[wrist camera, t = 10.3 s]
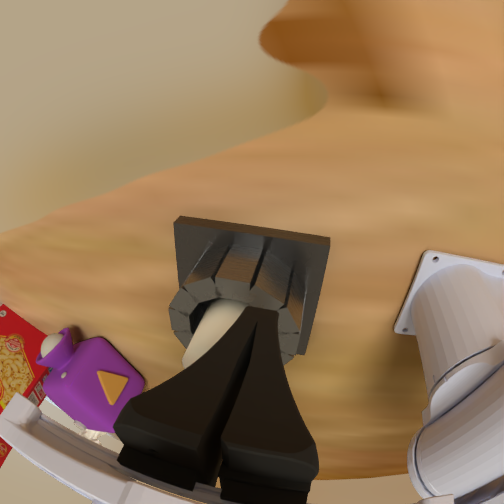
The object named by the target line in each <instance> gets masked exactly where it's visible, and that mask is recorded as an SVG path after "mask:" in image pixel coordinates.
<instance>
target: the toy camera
mask: <svg viewBox="0 0 504 504" xmlns="http://www.w3.org/2000/svg"><path fill="white" fill-rule="evenodd" d="M36 363H37V364H39V365H42V366H46V367H52V368H53V369H52V371H51V372H50V374H49V375H48V377H47V378H46V380H45V381H44V384H43V390H44V392H45V394H46V395H47V396H48V397H49V398H50V399H51V400H52V401H53V402H54V403H55V404H56V405H57V406H58V407H59V408H61V409H62V410H63V411H64V412H65V413H67V414H68V415H69V416H70V417H71V418H72V419H74V420H75V422H74V424H75V425H76V426H77V427H78V428H80V429H81V430H83V431H85V430H86V429H89V430H94V431H100V432H108V433H115V431H114V429H113V425H114V423H115V421H116V419H117V417H118V415H119V414H120V412H121V410H122V409H123V407H124V406H125V405H126V403H127V402H128V401H129V399H130V398H132V397H135V396H137V395H139V394H141V392H142V390H143V388H144V384H145V382H144V379H143V378H142V376H141V375H140V374H139V373H138V372H137V371H136V370H135V369H134V368H133V367H132V366H131V365H130V364H129V363H128V362H127V361H126V360H125V359H124V358H123V357H122V356H121V355H120V354H119V353H118V352H117V351H116V350H115V349H114V348H113V347H112V346H111V345H110V344H109V343H108V342H107V341H106V340H105V339H103V338H101V337H95V338H91V339H88V340H85V341H82V342H79V343H77V344H74V345H73V344H72V338H71V333H70V330H69V328H65V329H63V330H61V331H60V332H59V333H54V334H50V335H49V336H47V337H46V338H45V339H44V341H43V343H42V345H41V351H40V353H39V355H38V356H37V358H36Z"/></svg>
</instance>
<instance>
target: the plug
mask: <svg viewBox="0 0 504 504" xmlns="http://www.w3.org/2000/svg"><path fill="white" fill-rule="evenodd" d="M247 306H250V305H249V304H247V303H246V302H242V301H236V300H231V299H226V298H221V297H218V298H215V299H211V301H210V303H209V305H208V307H207V309H206V311H205V313H204V315H203V317H202V319H201V321H200V323H199V325H198V327H197V330H196V332H195V334H194V336H193V338H192V340H191V342H190V344H189V346H188V348H187V350H186V352H185V354H184V356H183V359H182V363H183V367H184V369H186V368H187V367H188V366H190V365H191V364H193V363H194V362H195V361H196V360H198V359H199V358H200V357H201V356H202V355H203V354H205V353H206V352H207V351H208V350H209V349H210V348H211V347H212V346H213V345H214V344H215V343H216V342H217V341H218V340H219V339H220V338H221V337H222V336H223V335H224V334H225V333H226V332H227V331H228V329H229V328H230V327H231V326H232V325H233V324H234V322H235V321H236V320H237V319H238V317H239V316H240V315H241V313H242V312H243V310H244V309H245V307H247Z"/></svg>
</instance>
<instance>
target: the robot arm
mask: <svg viewBox="0 0 504 504" xmlns="http://www.w3.org/2000/svg"><path fill="white" fill-rule="evenodd" d="M436 256H437V258H436V259H435V260H433V258H434V257H436ZM503 271H504V265H503V264H498V263H494V262H489V261H484V260H479V259H474V258H469V257H464V256H459V255H454V254H449V253H443V252H438V251H433V250H427V251H426V252H424V254H423V256H422V259H421V261H420V264H419V267H418V270H417V272H416V275H415V278H414V280H413V283H412V285H411V288H410V290H409V293H408V295H407V298H406V300H405V302H404V305H403V307H402V310H401V312H400V314H399V316H398V319H397V321H396V323H395V325H394V331H395V333H398V334H407V335H416V338H417V342H418V347H419V351H420V356H421V361H422V366H423V371H424V376H425V382H426V388H427V394H428V400H429V404H428V406H427V407H426V408H425V409H424V410H423V411H422V418H423V427H422V428H420V429H419V430H418V431H417V432H416V433H415V434H414V436H413V438H412V439H411V442H410V444H409V448H408V452H407V467H408V473H409V476H410V479H411V482H412V484H413V486H414V488H415V489H416V491H417V492H418V494H419V495H420V496H421V497H422V498H423V499H422V500H420V501H419V502H417V503H414V504H504V272H503ZM278 318H279V313H278V312H277V311H275V310H269V309H263V308H258V307H252V306H247V307H245V309H244V310H243V312H242V313H241V315H240V316H239V317H238V319H237V320H236V321H235V322H234V324H233V325H232V326H231V327H230V328H229V329H228V331H227V332H226V333H225V334H224V335H223V336H222V337H221V338H220V339H219V340H218V341H217V342H216V343H215V344H214V345H213V346H212V347H211V348H210V349H209V350H208V351H207V352H206V353H205V354H203V355H202V356H201V357H200V358H199V359H198V360H196V361H195V362H194V363H193V364H191V365H190V366H188V367H187V368H186V369H184V370H183V371H181V372H180V373H178V374H177V375H175V376H174V377H172V378H171V379H169V380H167V381H165V382H164V383H162V384H160V385H158V386H156V387H155V388H153V389H151V390H148V391H146V392H144V393H142V394H139V395H137V396H135V397H132V398H130V399H129V401H128V402H127V403H126V405H125V406H124V407H123V409H122V410H121V412H120V414H119V415H118V417H117V419H116V421H115V423H114V425H113V429H114V431H115V433H116V434H117V436H118V437H119V439H120V440H121V441H122V443H123V444H124V446H123V448H122V450H121V452H120V454H118V453H116V452H113V451H111V450H109V449H107V448H105V447H103V446H101V445H99V444H97V443H95V442H93V441H91V440H89V439H87V438H85V437H83V436H81V435H79V434H77V433H75V432H74V431H72V430H70V429H68V428H66V427H64V426H63V425H61V424H59V423H58V422H56V421H54V420H53V419H51V418H49V417H48V416H46V415H44V414H43V413H42V412H41V410H40V409H39V408H38V407H37V406H36V405H35V404H34V403H33V402H32V401H30V400H29V399H27V398H26V397H24V396H23V395H21V394H20V393H18V392H16V393H15V395H14V396H13V398H12V399H11V400H10V402H9V403H8V405H7V406H6V407H5V409H4V410H3V412H2V413H1V415H0V437H1V438H2V439H3V440H5V441H6V442H7V443H8V444H9V445H10V446H11V447H13V448H14V449H15V450H16V451H18V452H19V453H20V454H21V455H22V456H24V457H25V458H26V459H28V460H29V461H31V462H32V463H33V464H35V465H36V466H37V467H39V468H40V469H42V470H43V471H45V472H46V473H48V474H49V475H50V476H52V477H53V478H55V479H56V480H58V481H60V482H61V483H63V484H64V485H66V486H68V487H69V488H71V489H72V490H74V491H76V492H78V493H79V494H81V495H83V496H85V497H86V498H88V499H90V500H92V501H93V502H92V504H202V503H198V502H195V501H191V500H188V499H185V498H182V497H178V496H176V495H173V494H170V493H167V492H164V491H161V490H158V489H156V488H153V487H150V486H148V485H145V484H142V483H139V482H136V480H139V481H141V482H144V483H146V484H149V485H151V486H154V487H157V488H160V489H162V490H165V491H168V492H171V493H174V494H177V495H180V496H183V497H186V498H190V499H193V500H196V501H200V502H203V503H207V504H308V503H306V502H307V496H308V493H309V491H310V486H311V481H312V480H313V479H314V478H315V477H316V476H317V475H318V472H319V460H318V454H317V449H316V444H315V441H314V440H313V438H312V436H311V434H310V433H309V431H308V429H307V427H306V425H305V423H304V421H303V419H302V417H301V415H300V413H299V410H298V408H297V406H296V403H295V401H294V398H293V396H292V393H291V390H290V387H289V384H288V381H287V378H286V374H285V370H284V366H283V362H282V357H281V352H280V345H279V337H278ZM404 328H406V329H404ZM221 462H222V463H221ZM218 477H219V478H220V485H221V489H220V488H216V487H215V486H216V482H217V478H218ZM132 478H134V479H136V480H134V479H132Z"/></svg>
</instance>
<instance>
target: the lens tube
mask: <svg viewBox="0 0 504 504" xmlns="http://www.w3.org/2000/svg"><path fill="white" fill-rule="evenodd" d="M174 236H175V248H176V260H177V270H178V280H179V291H178V292H177V294H176V296H175V297H174V299H173V300H172V302H171V303H170V305H169V306H170V307H169V315H170V321H171V327H172V330H175V331H174V334H175V335H176V337H177V338H178V339H179V340H180V342H181V343H182V344H183V345H184V347H185V348H186V349H187V348H188V346H189V344H190V342H191V340H192V338H193V336H194V334H195V332H196V330H197V327H198V325H199V323H200V321H201V319H202V317H203V315H204V313H205V311H206V309H207V307H208V305H209V303H210V301H211V299H215V298H218V297H221V298H226V299H231V300H236V301H242V302H246V303H247V304H249V305H250V306H252V307H258V308H263V309H269V310H275V311H277V312H278V313H279V318H278V337H279V345H280V352H281V357H282V362H283V365H285V364H286V363H287V362H289V361H290V360H292V359H293V358H294V355H296V354H300V355H305V352H306V348H307V344H308V341H309V337H310V333H311V329H312V325H313V321H314V317H315V313H316V308H317V304H318V300H319V296H320V291H321V287H322V282H323V278H324V273H325V269H326V264H327V259H328V255H329V250H330V237H323V236H317V235H311V234H304V233H298V232H291V231H285V230H278V229H271V228H264V227H258V226H251V225H244V224H237V223H229V222H222V221H215V220H208V219H200V218H193V217H185V216H180V217H179V218H178V219H177V220H176V221H175V222H174Z"/></svg>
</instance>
